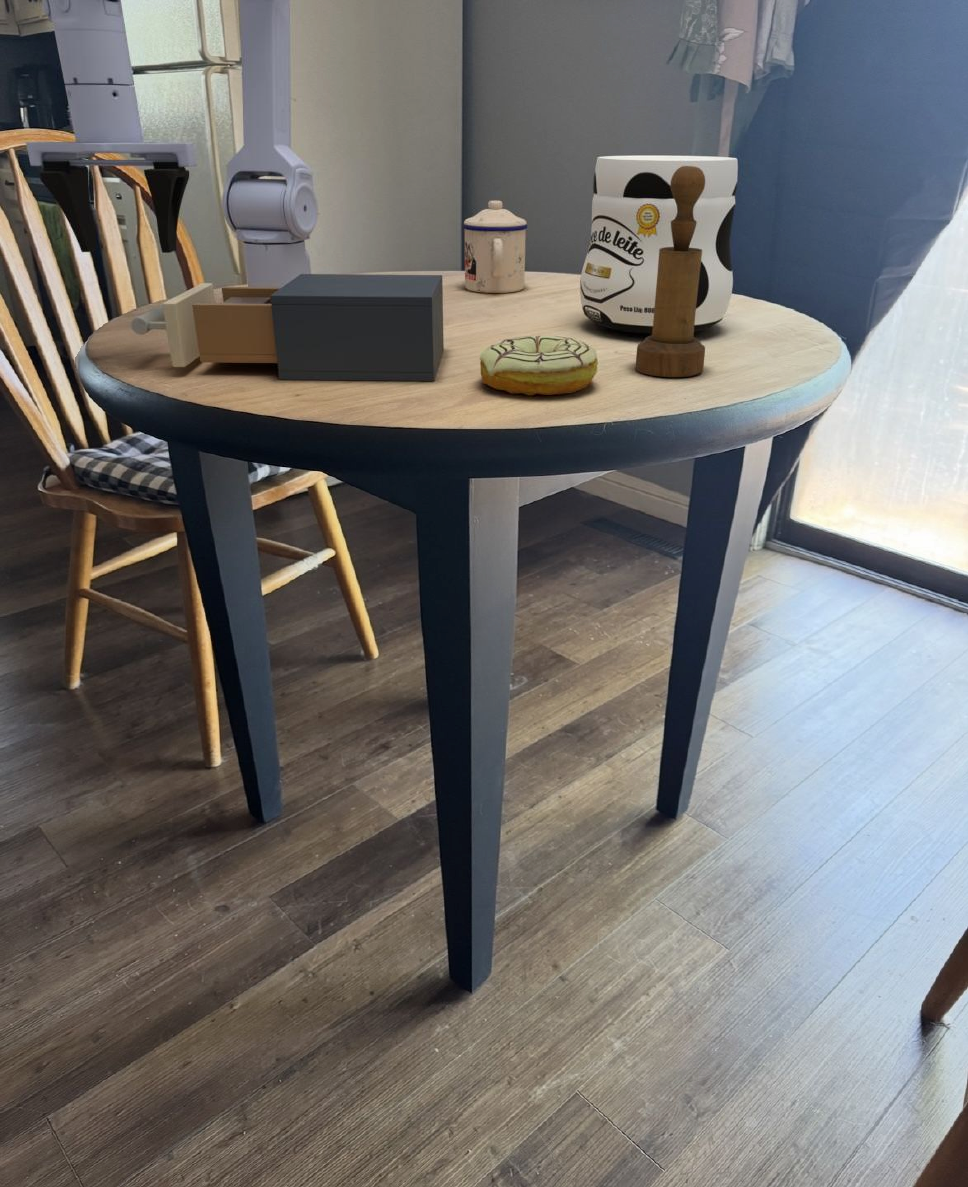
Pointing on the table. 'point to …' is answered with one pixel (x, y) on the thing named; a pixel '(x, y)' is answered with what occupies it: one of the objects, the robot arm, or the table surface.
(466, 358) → the table surface
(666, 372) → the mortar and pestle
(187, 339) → the drawer
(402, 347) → the cabinet
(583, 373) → the decorated donut
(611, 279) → the milk container
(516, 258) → the teacup with lid
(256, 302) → the block
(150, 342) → the table surface
